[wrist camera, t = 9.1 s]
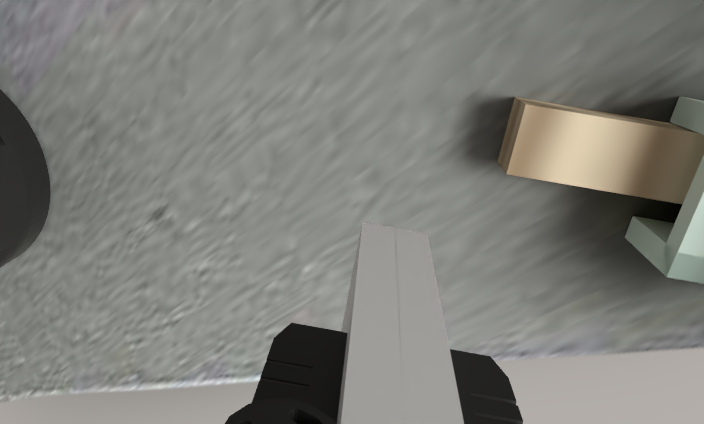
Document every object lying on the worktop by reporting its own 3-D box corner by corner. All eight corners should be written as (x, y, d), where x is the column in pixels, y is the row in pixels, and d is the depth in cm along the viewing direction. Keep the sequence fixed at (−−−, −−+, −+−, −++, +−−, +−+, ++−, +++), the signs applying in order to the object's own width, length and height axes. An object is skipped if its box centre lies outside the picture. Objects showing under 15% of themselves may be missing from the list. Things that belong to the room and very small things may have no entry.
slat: (496, 160, 32) (506, 174, 29) (513, 96, 31) (525, 104, 28) (719, 198, 32) (750, 215, 29) (747, 135, 31) (783, 147, 28)
